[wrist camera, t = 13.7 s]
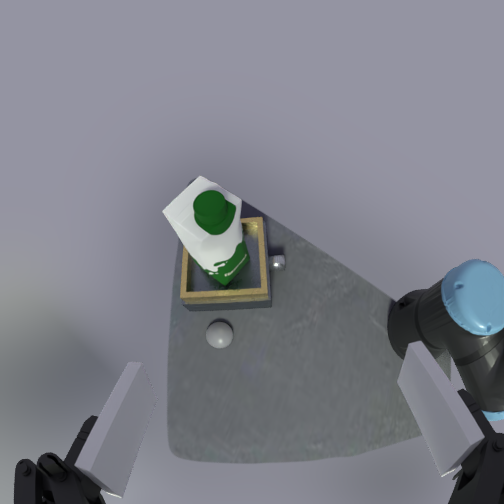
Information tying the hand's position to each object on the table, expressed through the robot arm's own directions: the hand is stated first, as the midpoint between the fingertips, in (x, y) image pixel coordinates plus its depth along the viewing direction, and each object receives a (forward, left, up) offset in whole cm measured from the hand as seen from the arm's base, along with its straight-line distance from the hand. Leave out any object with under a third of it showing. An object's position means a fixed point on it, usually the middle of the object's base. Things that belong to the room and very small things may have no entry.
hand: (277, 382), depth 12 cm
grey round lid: (+10, -9, -38) cm, 40 cm away
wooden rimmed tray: (+6, -22, -38) cm, 44 cm away
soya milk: (+8, -21, -33) cm, 40 cm away
